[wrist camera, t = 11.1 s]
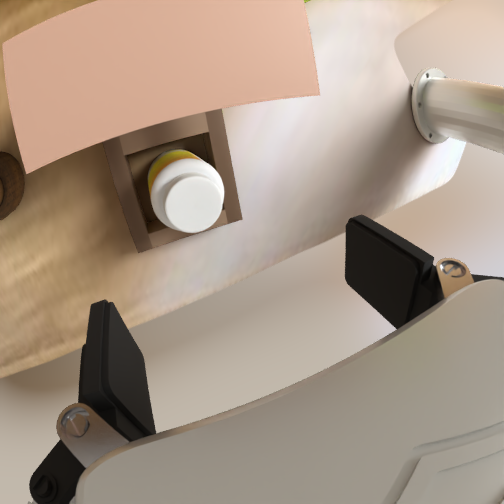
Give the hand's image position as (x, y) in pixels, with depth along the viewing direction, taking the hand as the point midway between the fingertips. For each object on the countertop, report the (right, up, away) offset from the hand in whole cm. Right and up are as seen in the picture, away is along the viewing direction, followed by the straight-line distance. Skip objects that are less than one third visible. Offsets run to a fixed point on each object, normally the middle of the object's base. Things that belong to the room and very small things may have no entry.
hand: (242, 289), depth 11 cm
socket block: (-8, +10, +16) cm, 20 cm away
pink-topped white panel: (-9, +17, +12) cm, 22 cm away
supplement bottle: (-7, +9, +17) cm, 20 cm away
